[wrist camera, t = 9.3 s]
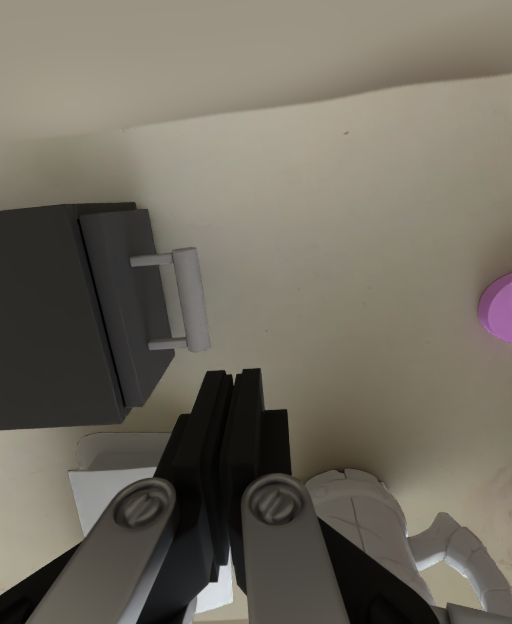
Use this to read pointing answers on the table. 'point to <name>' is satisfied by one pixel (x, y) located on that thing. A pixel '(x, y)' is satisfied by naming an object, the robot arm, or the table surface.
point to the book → (117, 475)
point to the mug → (392, 537)
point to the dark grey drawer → (140, 298)
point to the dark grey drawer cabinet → (53, 324)
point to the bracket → (497, 308)
